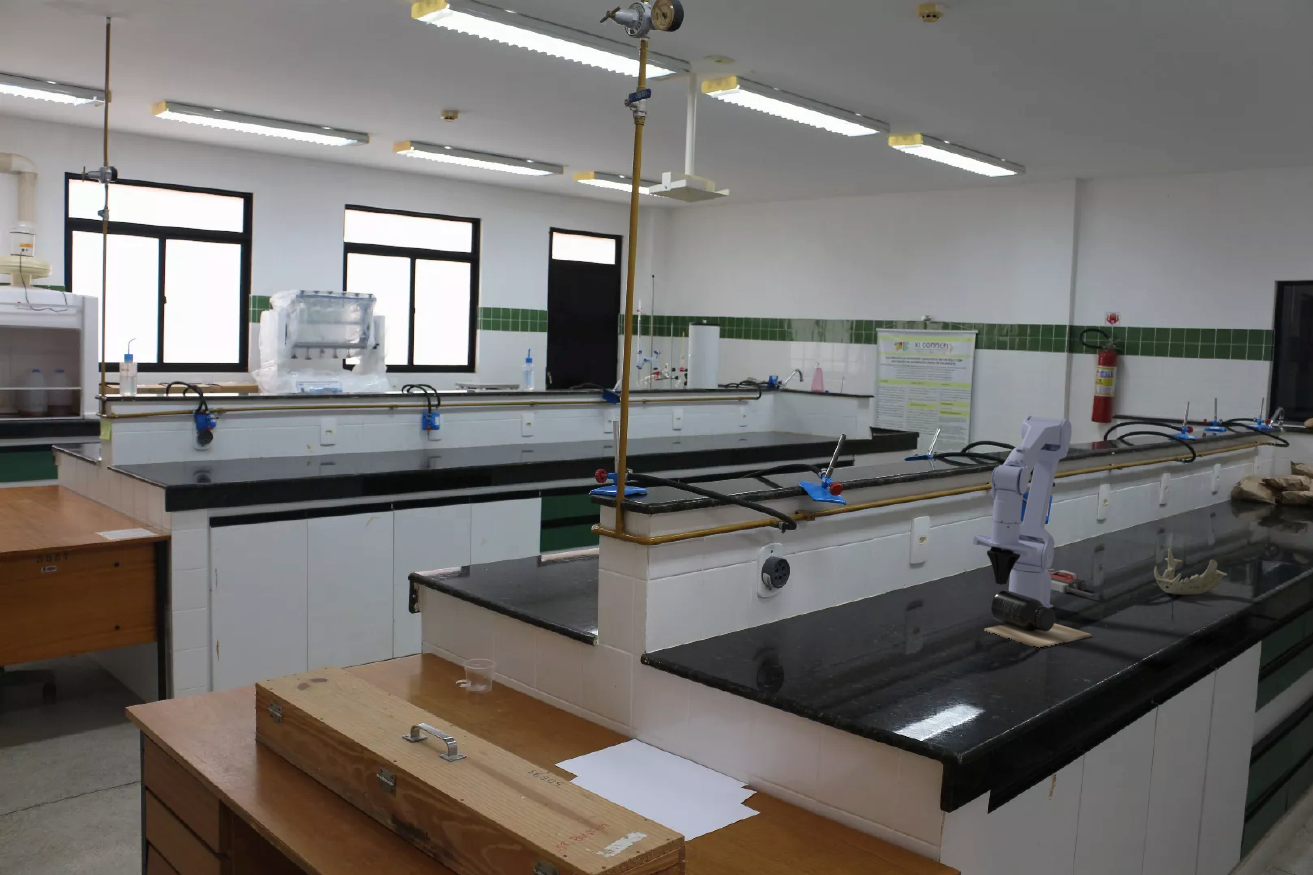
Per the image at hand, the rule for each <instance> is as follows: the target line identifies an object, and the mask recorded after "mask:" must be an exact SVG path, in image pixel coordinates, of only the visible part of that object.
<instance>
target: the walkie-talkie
mask: <svg viewBox="0 0 1313 875" xmlns="http://www.w3.org/2000/svg"><path fill="white" fill-rule="evenodd" d="M1047 571H1048V572H1049V573H1050V576H1051V580H1052V583H1051V591H1052V590H1053V591H1054V592H1055V591H1056V592H1058V591H1059V593H1062V594H1065V593H1073V594H1076V595H1079V596H1083V597H1084V596H1087V597H1089V598H1093V599H1095V598H1096V595H1095V594H1094V593H1091V592H1087V591H1085V590H1086V589H1087V584H1086V580H1085V579H1082V578H1079V577H1078V574H1077V573H1075V572H1073V571H1072V572H1071V571H1068V570H1064V569H1062V570H1056V571H1055V569H1054V568H1049V569H1048V570H1047Z"/></svg>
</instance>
